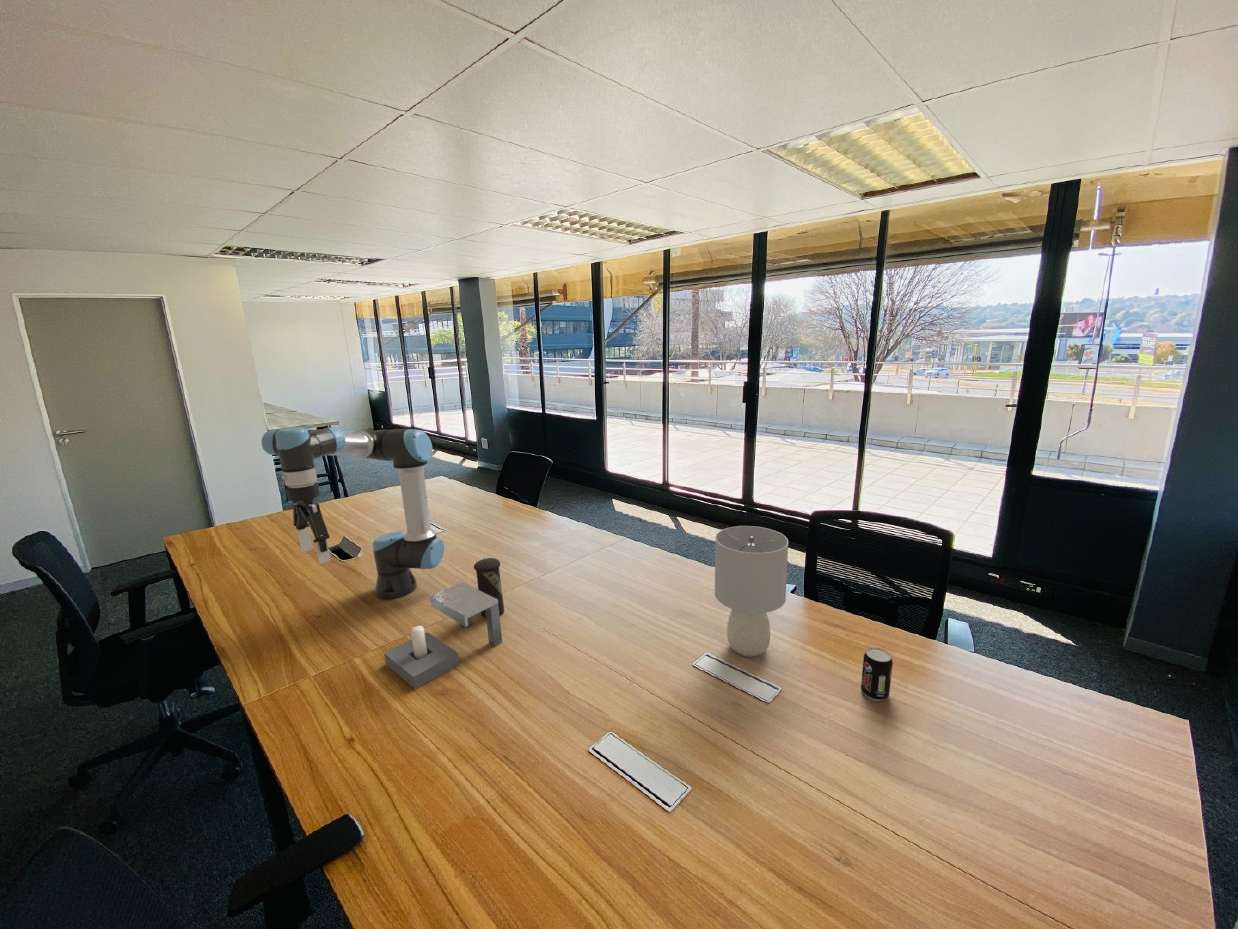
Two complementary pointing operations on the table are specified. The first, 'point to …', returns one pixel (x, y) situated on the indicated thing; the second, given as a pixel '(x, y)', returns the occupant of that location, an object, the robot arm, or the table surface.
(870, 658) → the beverage can
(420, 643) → the peg
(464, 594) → the grey legged flat piece
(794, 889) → the table surface
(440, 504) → the table surface
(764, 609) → the lamp
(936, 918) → the table surface
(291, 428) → the robot arm
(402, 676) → the socket block
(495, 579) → the container
